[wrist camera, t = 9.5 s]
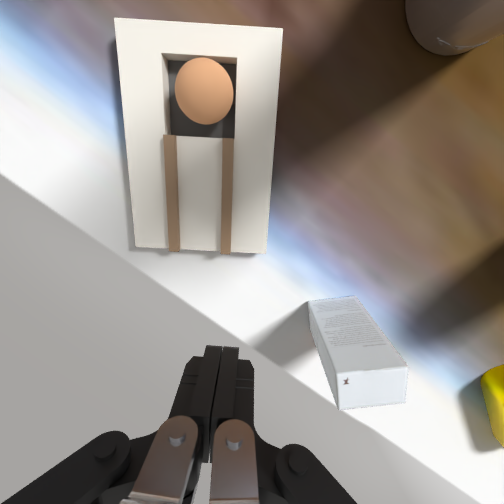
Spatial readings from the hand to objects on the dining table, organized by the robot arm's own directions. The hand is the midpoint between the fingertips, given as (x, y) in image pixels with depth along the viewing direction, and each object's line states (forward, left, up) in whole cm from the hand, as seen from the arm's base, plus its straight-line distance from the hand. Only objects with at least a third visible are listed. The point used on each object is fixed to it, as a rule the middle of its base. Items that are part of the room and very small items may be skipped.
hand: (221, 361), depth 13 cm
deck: (-9, -4, -20) cm, 22 cm away
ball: (-14, -4, -17) cm, 22 cm away
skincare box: (+9, +12, -20) cm, 25 cm away
